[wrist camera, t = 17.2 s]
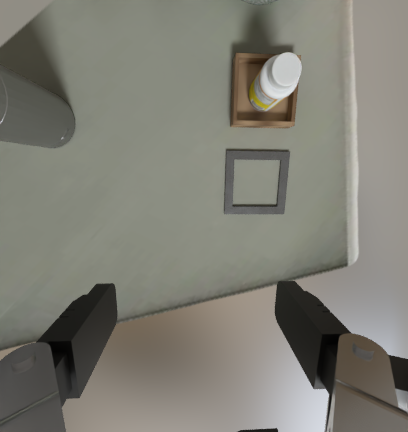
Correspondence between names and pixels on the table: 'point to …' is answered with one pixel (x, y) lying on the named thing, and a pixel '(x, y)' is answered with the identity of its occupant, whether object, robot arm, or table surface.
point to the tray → (240, 106)
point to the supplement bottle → (275, 81)
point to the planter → (259, 1)
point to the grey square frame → (256, 156)
